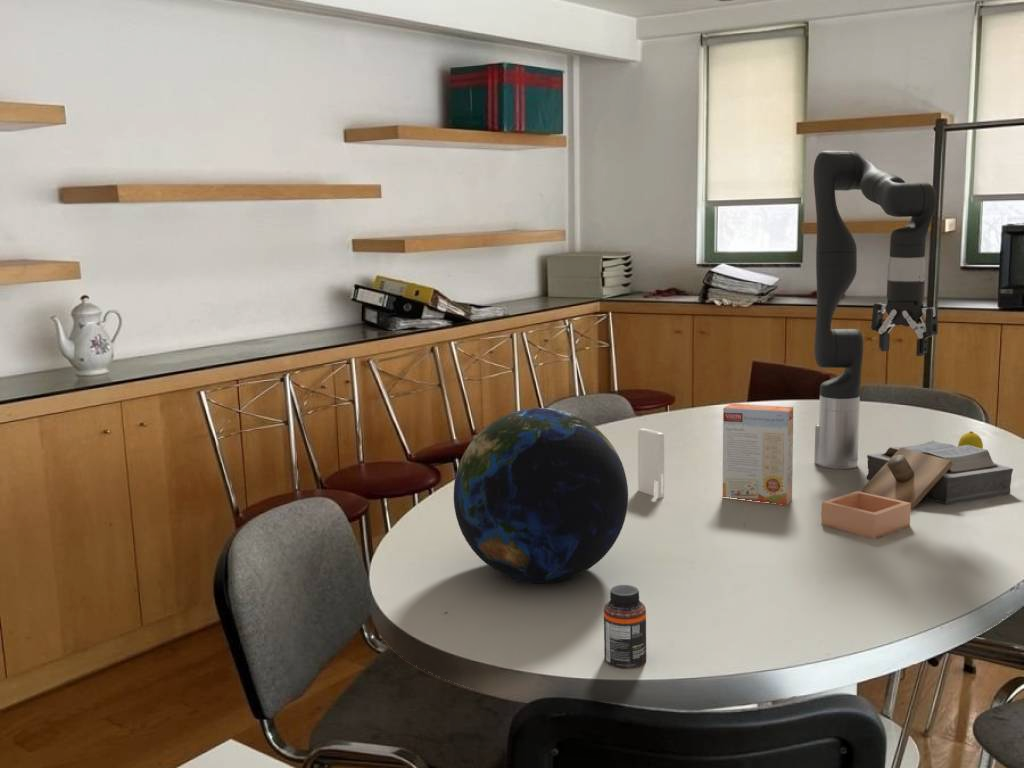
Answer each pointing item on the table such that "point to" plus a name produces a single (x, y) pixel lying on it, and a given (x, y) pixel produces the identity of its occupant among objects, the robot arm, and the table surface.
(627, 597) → the supplement bottle
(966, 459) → the bible
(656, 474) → the phone case
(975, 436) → the lemon
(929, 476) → the lid
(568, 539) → the globe
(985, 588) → the table surface
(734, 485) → the cracker box
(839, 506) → the dish
